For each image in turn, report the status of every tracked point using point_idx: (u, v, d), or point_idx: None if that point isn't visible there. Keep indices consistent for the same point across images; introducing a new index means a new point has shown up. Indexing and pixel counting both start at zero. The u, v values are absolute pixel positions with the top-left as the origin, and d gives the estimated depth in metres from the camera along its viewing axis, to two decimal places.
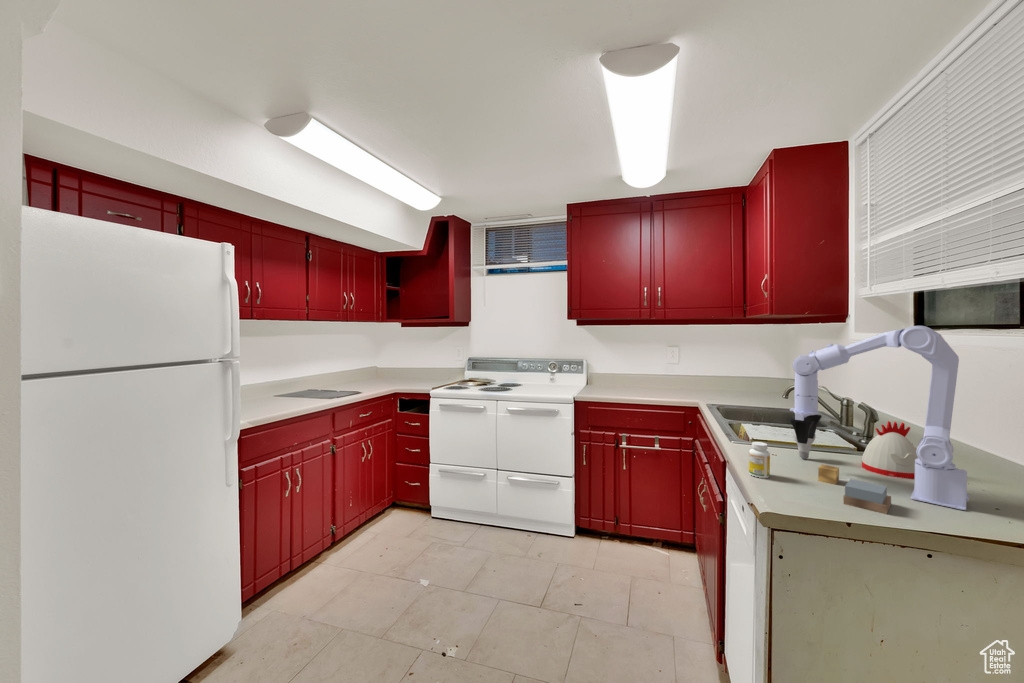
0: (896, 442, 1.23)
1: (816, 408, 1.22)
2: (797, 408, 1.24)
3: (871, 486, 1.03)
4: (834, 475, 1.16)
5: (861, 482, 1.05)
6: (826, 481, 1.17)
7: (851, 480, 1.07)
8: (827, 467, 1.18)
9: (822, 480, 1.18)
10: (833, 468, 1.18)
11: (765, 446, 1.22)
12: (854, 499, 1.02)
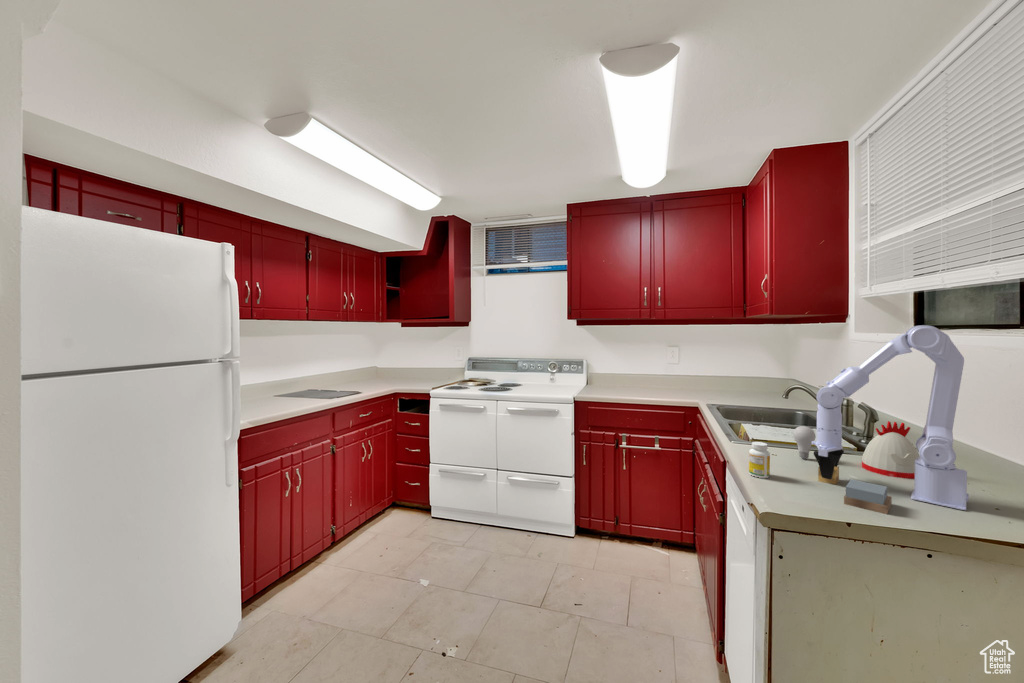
0: (896, 442, 1.23)
1: (840, 443, 1.16)
2: (820, 442, 1.18)
3: (871, 487, 1.03)
4: (834, 475, 1.16)
5: (861, 483, 1.05)
6: (826, 481, 1.17)
7: (851, 481, 1.07)
8: None
9: (822, 480, 1.18)
10: None
11: (765, 446, 1.22)
12: (855, 499, 1.02)
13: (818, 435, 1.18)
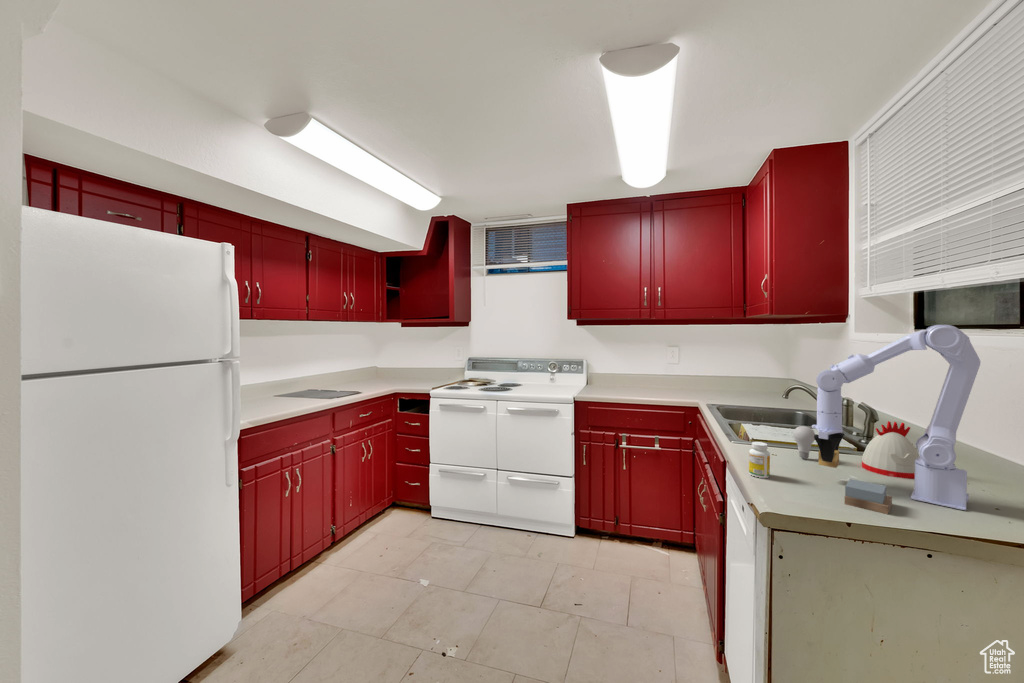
0: (896, 442, 1.23)
1: (840, 426, 1.16)
2: (820, 425, 1.18)
3: (870, 486, 1.03)
4: (834, 458, 1.16)
5: (861, 482, 1.06)
6: (826, 464, 1.17)
7: (851, 480, 1.07)
8: None
9: (822, 463, 1.18)
10: None
11: (765, 446, 1.22)
12: (855, 499, 1.02)
13: (818, 418, 1.18)
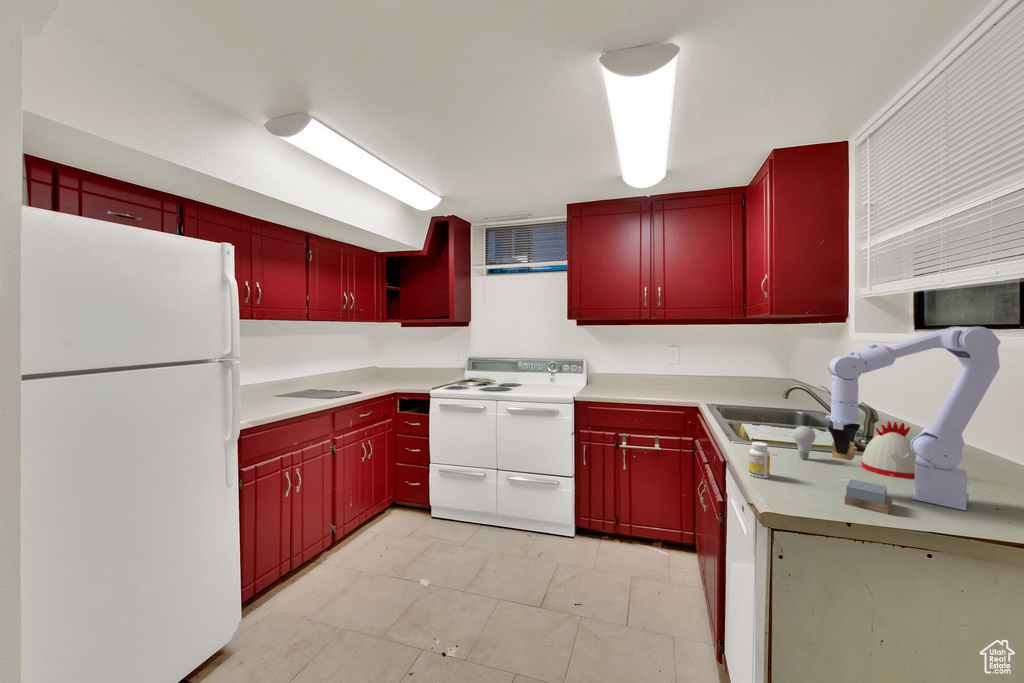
0: (896, 442, 1.23)
1: (856, 416, 1.09)
2: (834, 415, 1.11)
3: (871, 486, 1.03)
4: (849, 450, 1.09)
5: (861, 482, 1.05)
6: (841, 457, 1.11)
7: (851, 480, 1.07)
8: None
9: (836, 456, 1.12)
10: None
11: (765, 446, 1.22)
12: (855, 499, 1.02)
13: (833, 408, 1.12)
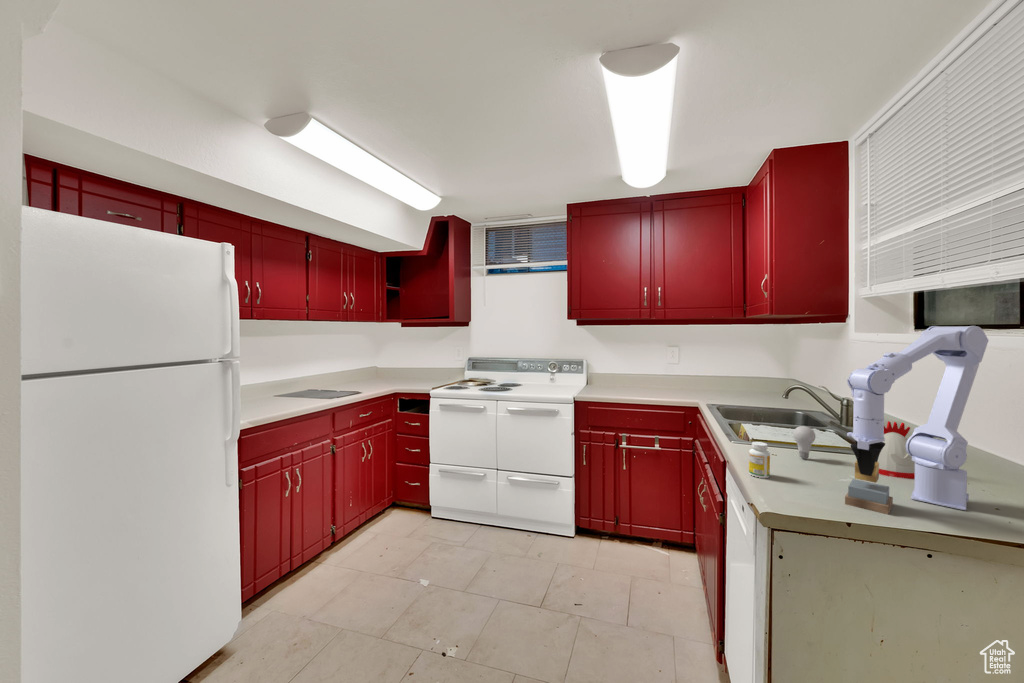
0: (896, 442, 1.23)
1: (882, 434, 1.00)
2: (858, 433, 1.02)
3: (874, 486, 1.03)
4: (874, 471, 1.00)
5: (864, 482, 1.05)
6: (864, 478, 1.02)
7: (854, 480, 1.07)
8: None
9: (859, 477, 1.02)
10: None
11: (765, 446, 1.22)
12: (855, 500, 1.02)
13: (856, 425, 1.03)
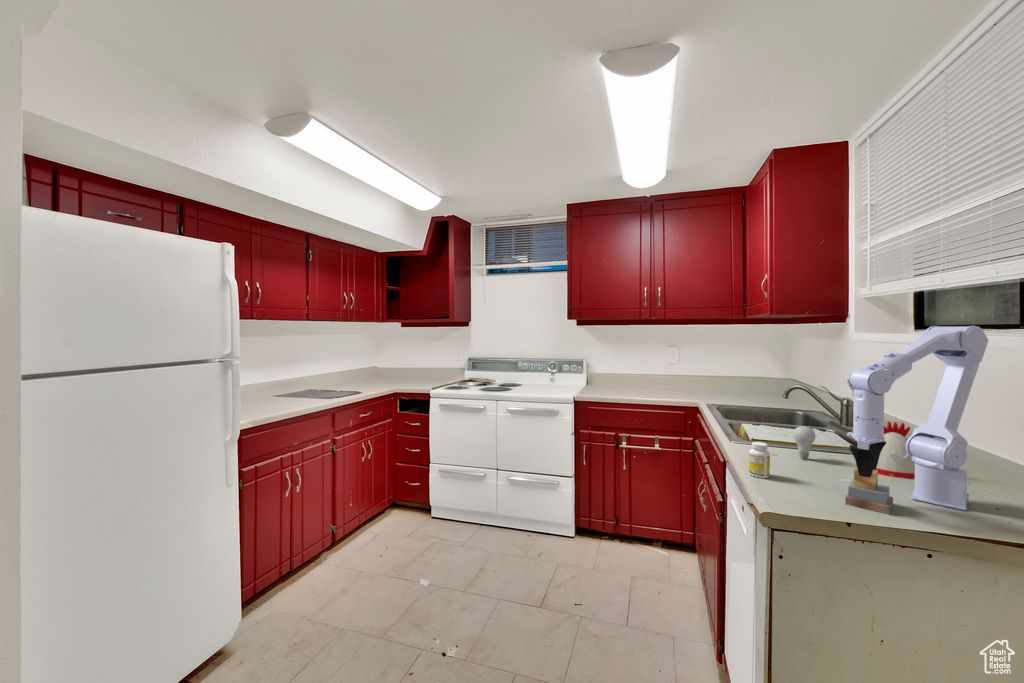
0: (896, 442, 1.23)
1: (882, 434, 1.00)
2: (858, 433, 1.02)
3: None
4: (873, 479, 1.00)
5: None
6: (863, 486, 1.02)
7: None
8: None
9: (858, 485, 1.03)
10: None
11: (765, 446, 1.22)
12: (856, 500, 1.02)
13: (856, 425, 1.03)
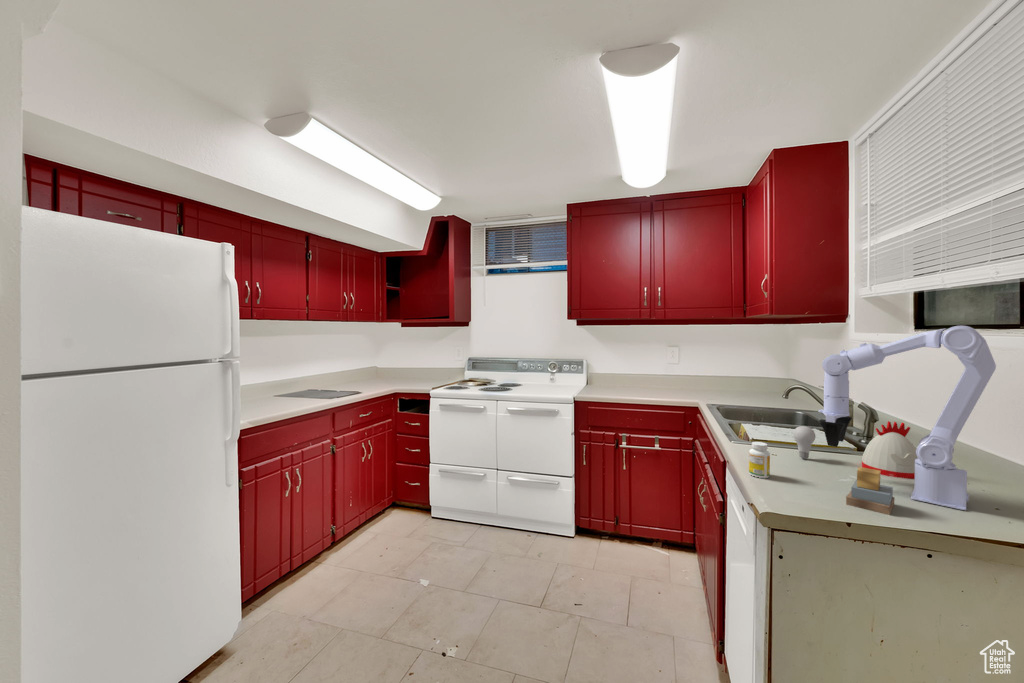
0: (896, 442, 1.23)
1: (847, 410, 1.17)
2: (827, 409, 1.19)
3: None
4: (876, 479, 1.00)
5: None
6: (866, 486, 1.01)
7: None
8: (867, 470, 1.03)
9: (861, 485, 1.02)
10: (874, 471, 1.02)
11: (765, 446, 1.22)
12: (857, 500, 1.01)
13: (825, 403, 1.19)
